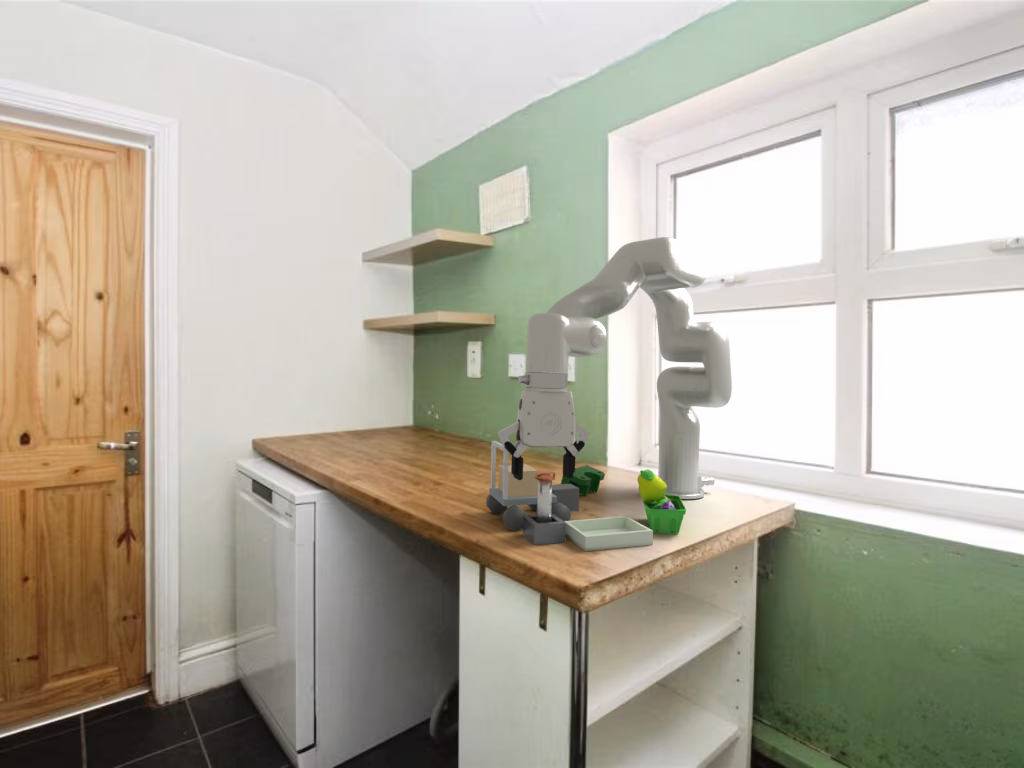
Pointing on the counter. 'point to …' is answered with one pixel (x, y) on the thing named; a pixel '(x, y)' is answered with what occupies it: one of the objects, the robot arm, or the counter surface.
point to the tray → (608, 533)
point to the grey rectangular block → (567, 495)
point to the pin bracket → (544, 530)
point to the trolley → (516, 492)
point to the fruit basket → (660, 504)
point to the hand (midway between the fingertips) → (543, 477)
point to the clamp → (585, 479)
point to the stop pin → (544, 495)
